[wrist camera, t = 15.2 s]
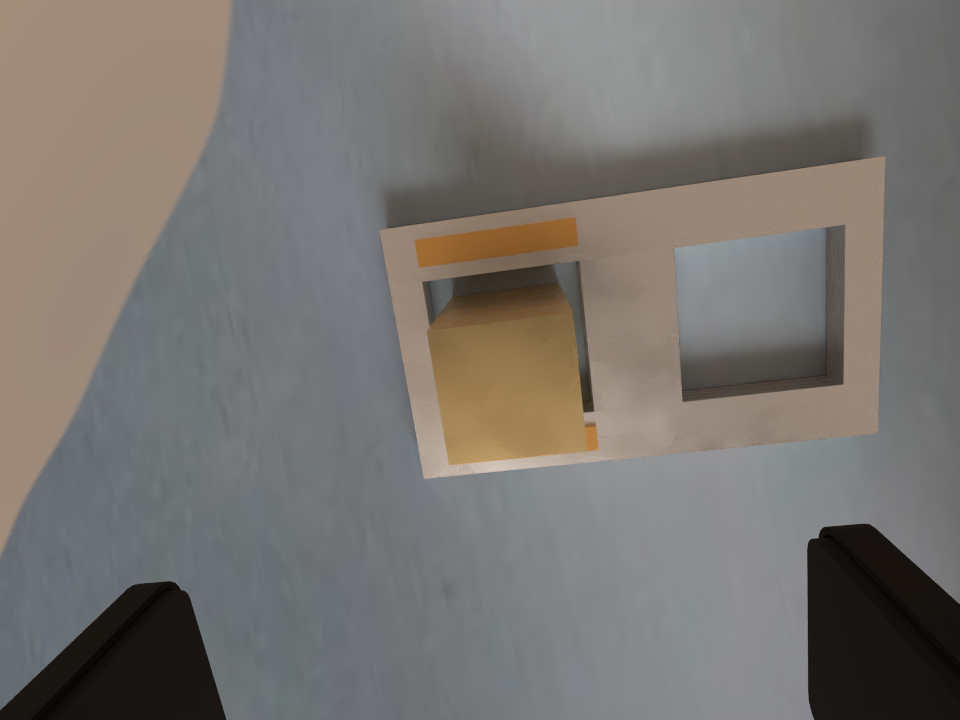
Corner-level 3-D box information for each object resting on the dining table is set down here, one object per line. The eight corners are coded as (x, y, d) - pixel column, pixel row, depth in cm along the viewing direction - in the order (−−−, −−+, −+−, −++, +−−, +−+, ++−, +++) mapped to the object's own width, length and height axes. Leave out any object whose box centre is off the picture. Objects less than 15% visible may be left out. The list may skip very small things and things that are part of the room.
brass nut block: (558, 282, 27) (573, 312, 19) (569, 384, 28) (587, 450, 21) (453, 296, 28) (426, 331, 20) (468, 396, 29) (448, 464, 21)
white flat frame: (863, 159, 25) (888, 155, 23) (859, 421, 28) (880, 434, 26) (386, 228, 27) (378, 229, 25) (428, 465, 30) (423, 480, 28)
